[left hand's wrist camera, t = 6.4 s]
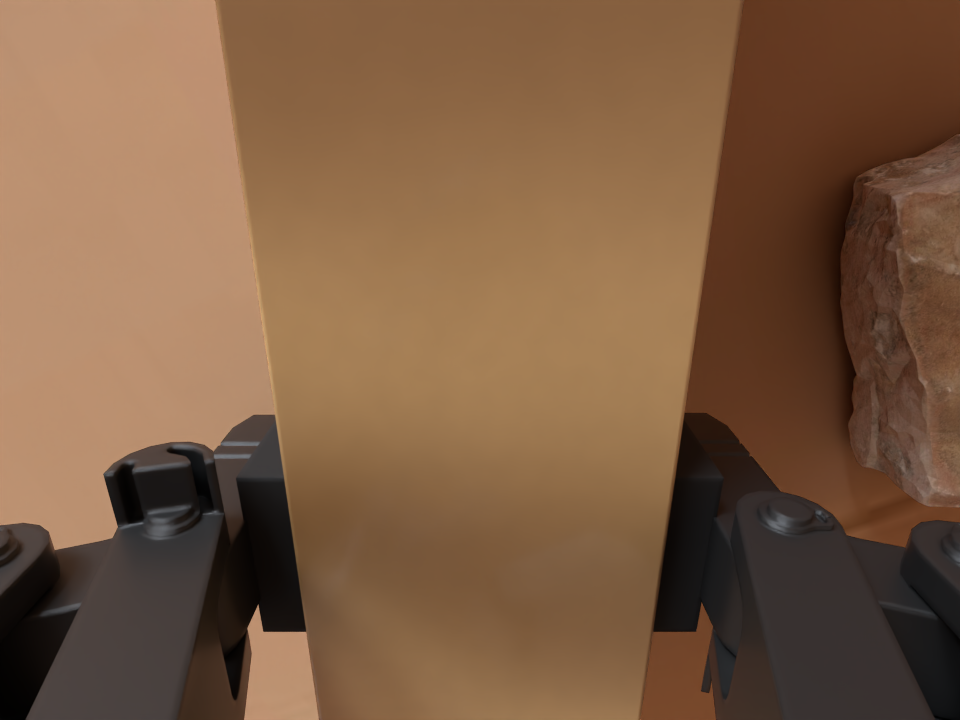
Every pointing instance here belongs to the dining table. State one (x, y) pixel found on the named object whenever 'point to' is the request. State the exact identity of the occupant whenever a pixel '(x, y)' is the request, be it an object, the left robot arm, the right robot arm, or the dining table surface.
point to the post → (479, 330)
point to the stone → (906, 322)
